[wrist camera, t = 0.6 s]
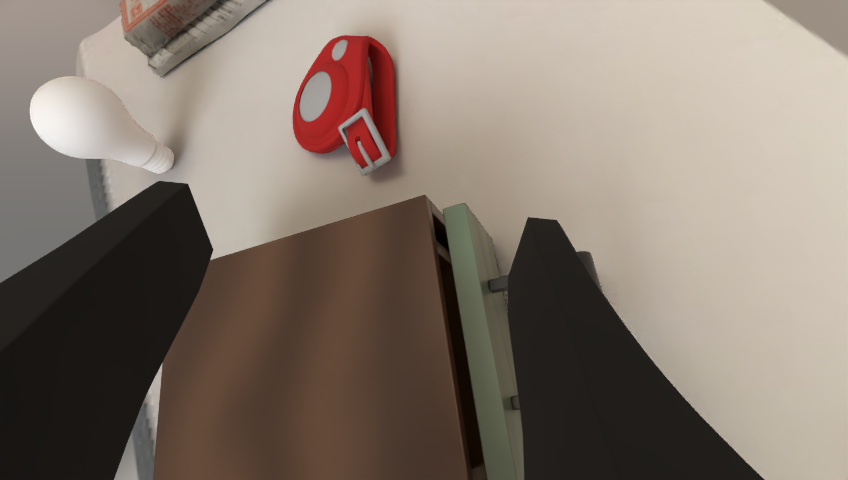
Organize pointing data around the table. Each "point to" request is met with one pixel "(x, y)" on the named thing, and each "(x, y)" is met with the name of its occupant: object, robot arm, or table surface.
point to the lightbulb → (94, 125)
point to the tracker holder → (349, 102)
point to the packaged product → (178, 26)
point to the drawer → (483, 346)
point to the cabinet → (319, 360)
